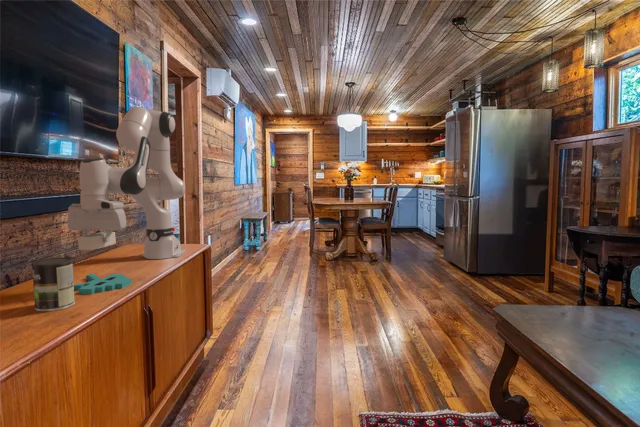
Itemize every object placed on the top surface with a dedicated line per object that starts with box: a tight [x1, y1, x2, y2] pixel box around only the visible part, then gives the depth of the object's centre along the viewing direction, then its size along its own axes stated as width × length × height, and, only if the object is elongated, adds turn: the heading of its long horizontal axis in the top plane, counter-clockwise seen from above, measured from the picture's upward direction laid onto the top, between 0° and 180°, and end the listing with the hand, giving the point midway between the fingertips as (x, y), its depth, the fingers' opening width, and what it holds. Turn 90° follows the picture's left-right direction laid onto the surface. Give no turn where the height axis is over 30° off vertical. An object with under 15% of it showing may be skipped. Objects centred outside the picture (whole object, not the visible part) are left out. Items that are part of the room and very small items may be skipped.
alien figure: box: [74, 273, 133, 295], centre depth 139 cm, size 20×2×20 cm
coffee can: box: [30, 256, 76, 312], centre depth 117 cm, size 10×10×14 cm
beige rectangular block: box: [77, 231, 117, 251], centre depth 138 cm, size 13×5×5 cm, turn 175°
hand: (97, 242), depth 138 cm, fingers closed on beige rectangular block, 5 cm apart
